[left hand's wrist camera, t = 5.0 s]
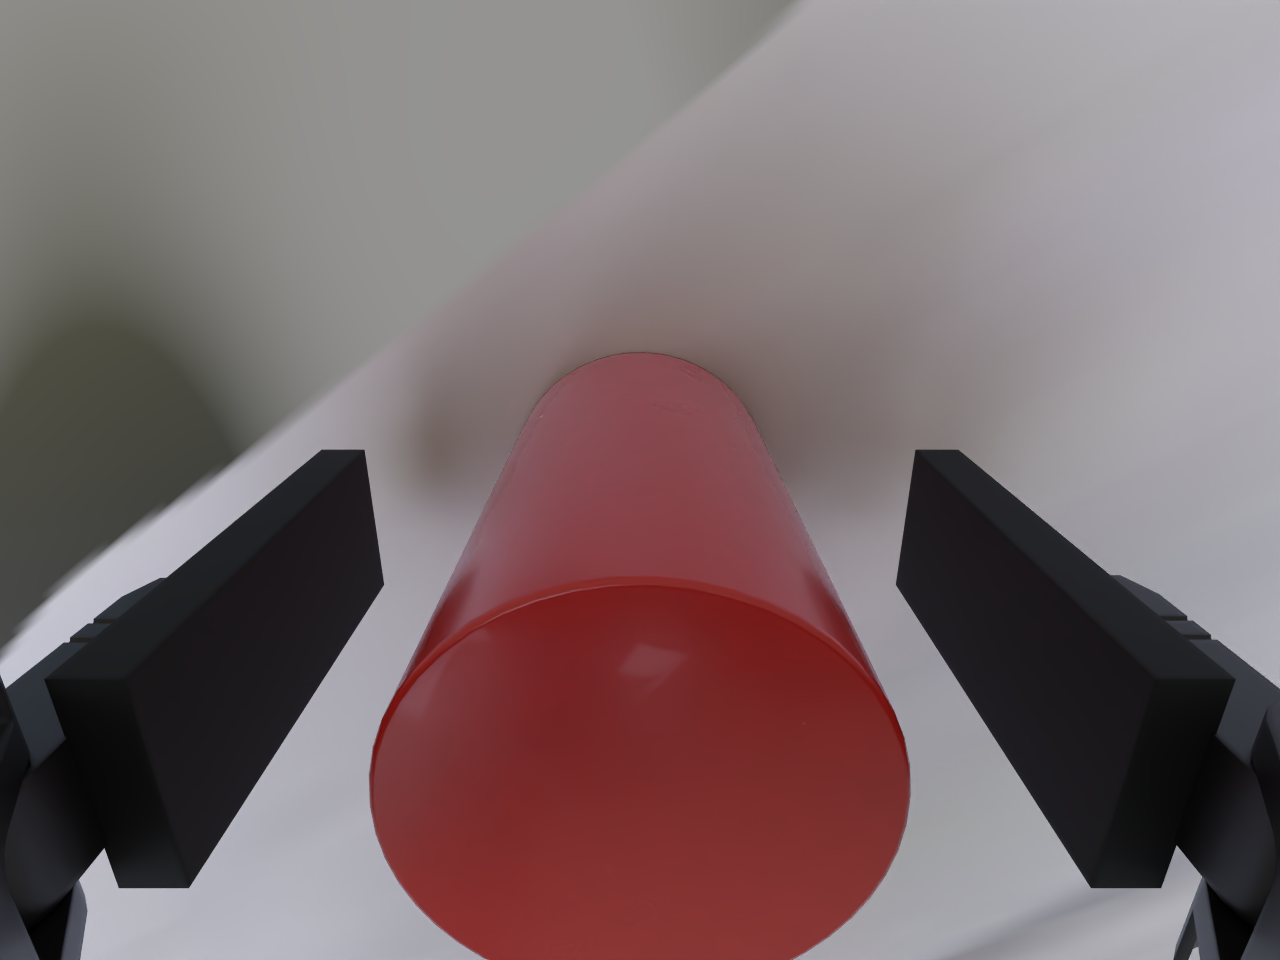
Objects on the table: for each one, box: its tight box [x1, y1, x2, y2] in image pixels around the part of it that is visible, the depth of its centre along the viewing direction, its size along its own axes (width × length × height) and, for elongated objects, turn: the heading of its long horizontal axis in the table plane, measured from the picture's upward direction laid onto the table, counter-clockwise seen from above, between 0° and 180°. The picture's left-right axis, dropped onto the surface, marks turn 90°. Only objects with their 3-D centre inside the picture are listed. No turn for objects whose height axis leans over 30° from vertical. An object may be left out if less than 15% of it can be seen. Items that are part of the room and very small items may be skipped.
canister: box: [369, 353, 911, 960], centre depth 11 cm, size 5×5×9 cm
